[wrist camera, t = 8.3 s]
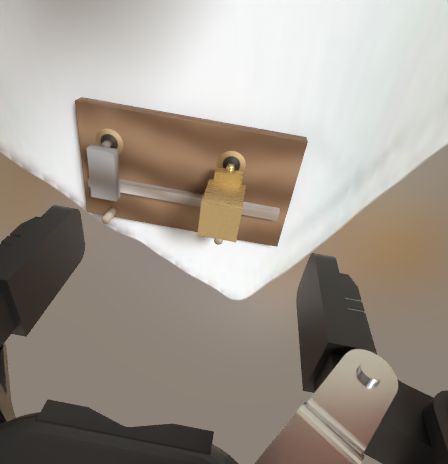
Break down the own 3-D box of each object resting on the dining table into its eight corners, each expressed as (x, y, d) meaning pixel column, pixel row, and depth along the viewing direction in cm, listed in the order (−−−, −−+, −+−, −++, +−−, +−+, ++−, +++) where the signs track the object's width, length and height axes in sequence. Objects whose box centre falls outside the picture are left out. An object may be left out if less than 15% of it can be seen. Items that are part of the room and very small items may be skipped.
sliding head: (213, 158, 37) (202, 188, 31) (249, 165, 37) (245, 195, 31) (207, 208, 41) (196, 242, 35) (239, 214, 41) (234, 249, 35)
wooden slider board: (81, 97, 37) (63, 106, 34) (306, 137, 36) (309, 150, 33) (92, 205, 45) (78, 222, 42) (276, 239, 44) (277, 258, 41)
